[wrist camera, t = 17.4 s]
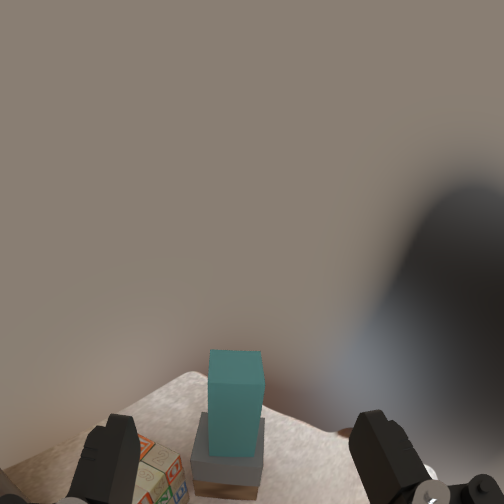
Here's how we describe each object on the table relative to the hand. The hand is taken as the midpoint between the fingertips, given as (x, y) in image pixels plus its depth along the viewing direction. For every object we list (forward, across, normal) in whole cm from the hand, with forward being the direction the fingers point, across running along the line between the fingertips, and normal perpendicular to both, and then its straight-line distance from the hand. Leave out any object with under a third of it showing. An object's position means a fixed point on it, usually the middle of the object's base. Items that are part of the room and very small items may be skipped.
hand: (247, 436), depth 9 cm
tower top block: (+16, 0, +27) cm, 31 cm away
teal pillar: (+16, 0, +22) cm, 27 cm away
